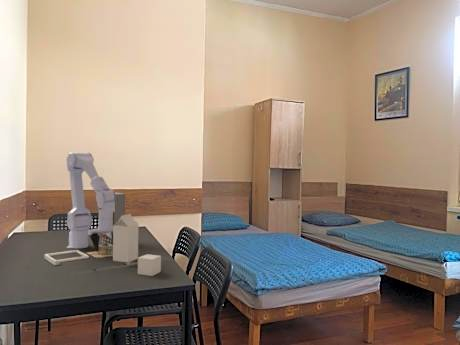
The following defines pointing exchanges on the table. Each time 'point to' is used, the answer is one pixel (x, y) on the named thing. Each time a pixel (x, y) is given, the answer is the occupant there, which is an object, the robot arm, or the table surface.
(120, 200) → the tall grey upright box
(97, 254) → the tan base plate
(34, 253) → the table surface
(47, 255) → the tray
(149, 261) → the white cube
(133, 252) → the milk carton
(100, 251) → the collar
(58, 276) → the table surface
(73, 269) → the table surface
